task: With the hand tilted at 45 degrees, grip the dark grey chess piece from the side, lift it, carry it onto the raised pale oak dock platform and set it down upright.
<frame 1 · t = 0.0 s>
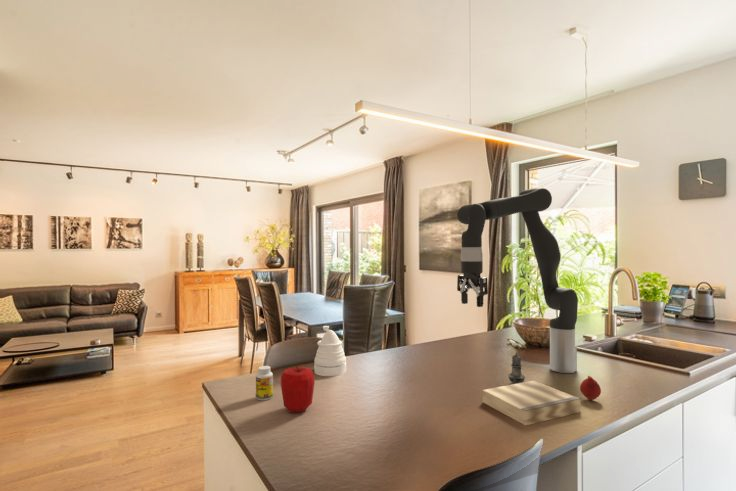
hand: (472, 305, 142), 29 cm above the kitchen island, tool pointing down, fingers open, 8 cm apart
honey pot: (330, 371, 160), on the kitchen island
dark grey chess piece: (516, 386, 142), on the kitchen island
supplement bottle: (264, 398, 132), on the kitchen island
dock platform: (530, 407, 124), on the kitchen island
onion: (590, 400, 129), on the kitchen island
apple: (297, 410, 123), on the kitchen island
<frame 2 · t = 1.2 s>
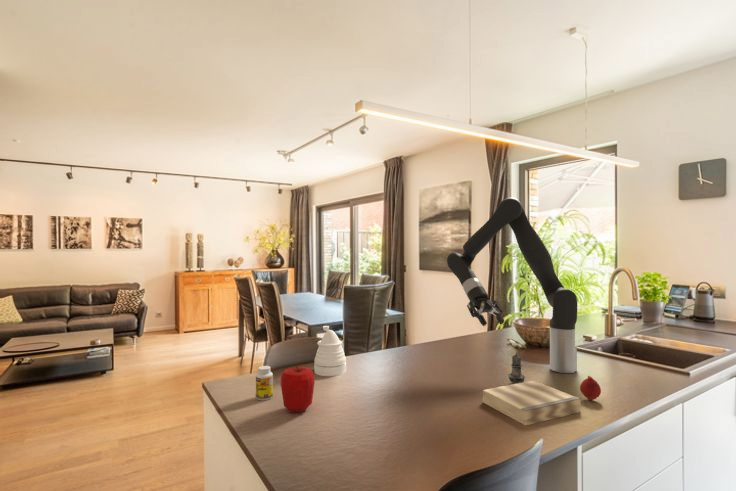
hand: (494, 324, 153), 20 cm above the kitchen island, tool tilted 45°, fingers open, 8 cm apart
nothing on the kitchen island moved.
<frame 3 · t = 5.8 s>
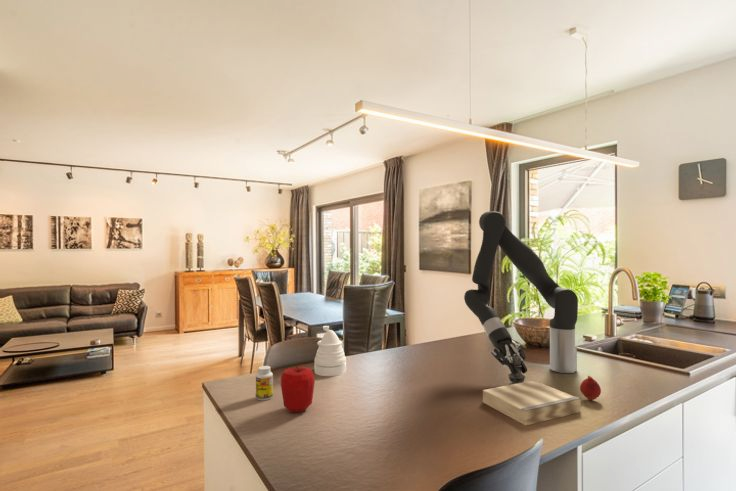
hand: (520, 372, 140), 5 cm above the kitchen island, tool tilted 45°, fingers closed on dark grey chess piece, 3 cm apart
dark grey chess piece: (516, 386, 142), on the kitchen island, touching gripper
everything else where it was.
when the fingers open (10 cm above the kitchen island, at t = 11.2 s): dark grey chess piece drops 1 cm, resting on dock platform.
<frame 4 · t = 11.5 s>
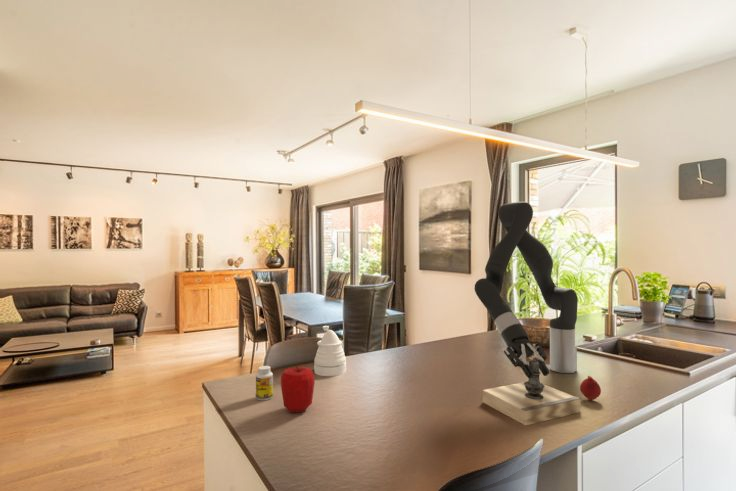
hand: (539, 375, 120), 11 cm above the kitchen island, tool tilted 45°, fingers open, 5 cm apart
dark grey chess piece: (534, 396, 122), point 4 cm above the kitchen island, touching dock platform
everything else where it was.
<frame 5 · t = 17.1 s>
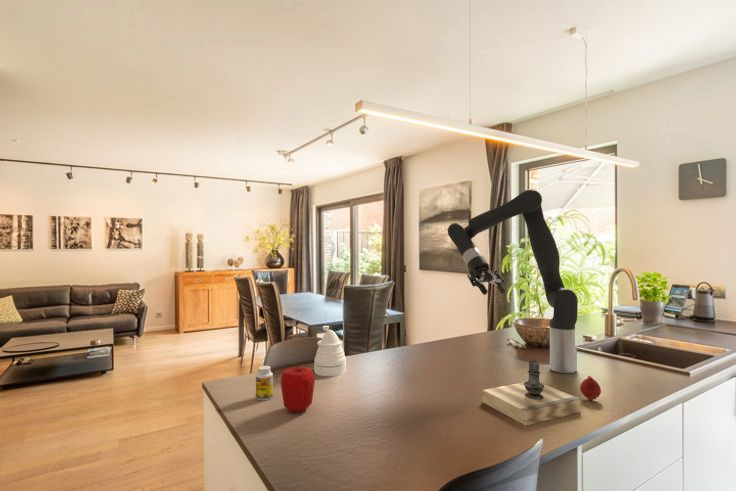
hand: (495, 292, 149), 33 cm above the kitchen island, tool tilted 45°, fingers open, 8 cm apart
nothing on the kitchen island moved.
at the end: dark grey chess piece inside the target area on the dock platform (1.5 cm from its centre), point 3.8 cm above the dock platform's base; dark grey chess piece tilted 0°; the gripper is holding nothing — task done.
